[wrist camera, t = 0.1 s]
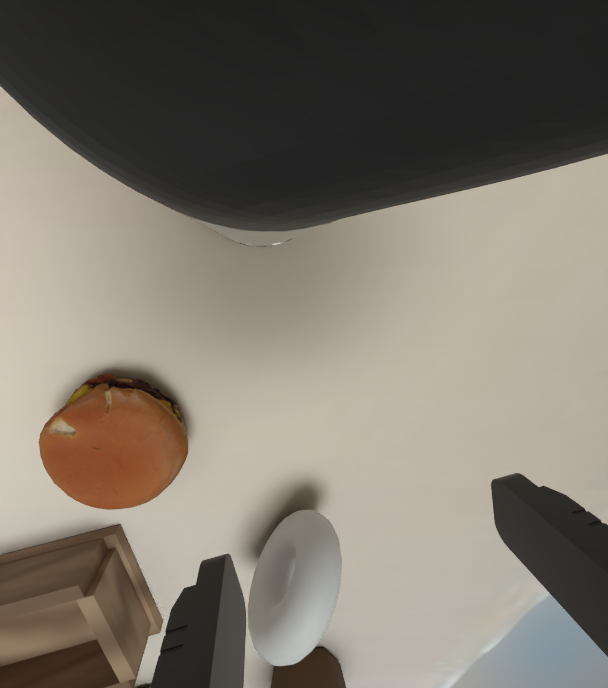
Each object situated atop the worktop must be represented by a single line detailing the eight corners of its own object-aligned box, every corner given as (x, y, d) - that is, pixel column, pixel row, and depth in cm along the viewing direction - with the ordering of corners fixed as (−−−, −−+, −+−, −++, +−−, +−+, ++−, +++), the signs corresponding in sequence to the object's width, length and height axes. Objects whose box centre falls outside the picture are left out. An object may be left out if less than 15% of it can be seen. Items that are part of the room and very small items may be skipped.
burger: (165, 496, 28) (148, 541, 24) (48, 460, 26) (4, 502, 21) (212, 397, 26) (203, 426, 22) (91, 349, 24) (54, 370, 20)
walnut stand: (-98, 580, 27) (-175, 652, 22) (120, 524, 28) (92, 580, 23) (-29, 675, 30) (-84, 755, 25) (163, 621, 31) (146, 687, 27)
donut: (302, 477, 29) (325, 586, 20) (334, 493, 30) (369, 605, 21) (241, 559, 31) (234, 698, 21) (272, 572, 32) (279, 710, 22)
